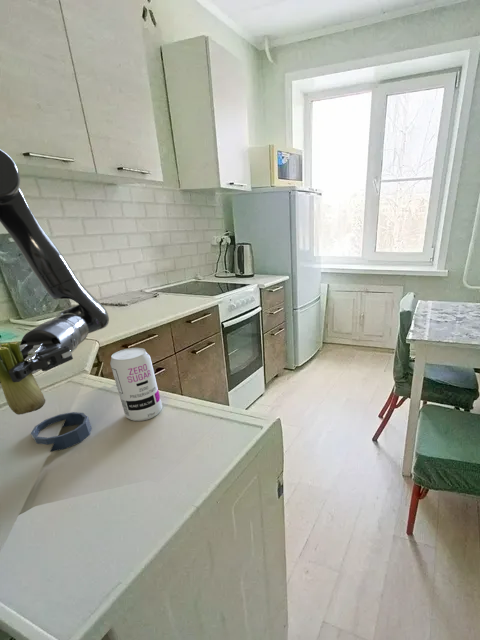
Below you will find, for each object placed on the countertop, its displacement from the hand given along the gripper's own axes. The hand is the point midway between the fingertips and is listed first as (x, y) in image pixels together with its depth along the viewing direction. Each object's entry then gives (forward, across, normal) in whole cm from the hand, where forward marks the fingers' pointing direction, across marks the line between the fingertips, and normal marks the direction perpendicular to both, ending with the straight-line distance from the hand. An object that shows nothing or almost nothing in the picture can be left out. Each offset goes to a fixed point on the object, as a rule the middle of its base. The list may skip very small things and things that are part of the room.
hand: (3, 377), depth 56 cm
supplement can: (-19, +13, +20) cm, 31 cm away
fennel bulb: (-3, 0, +8) cm, 8 cm away
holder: (-13, -2, +20) cm, 23 cm away
